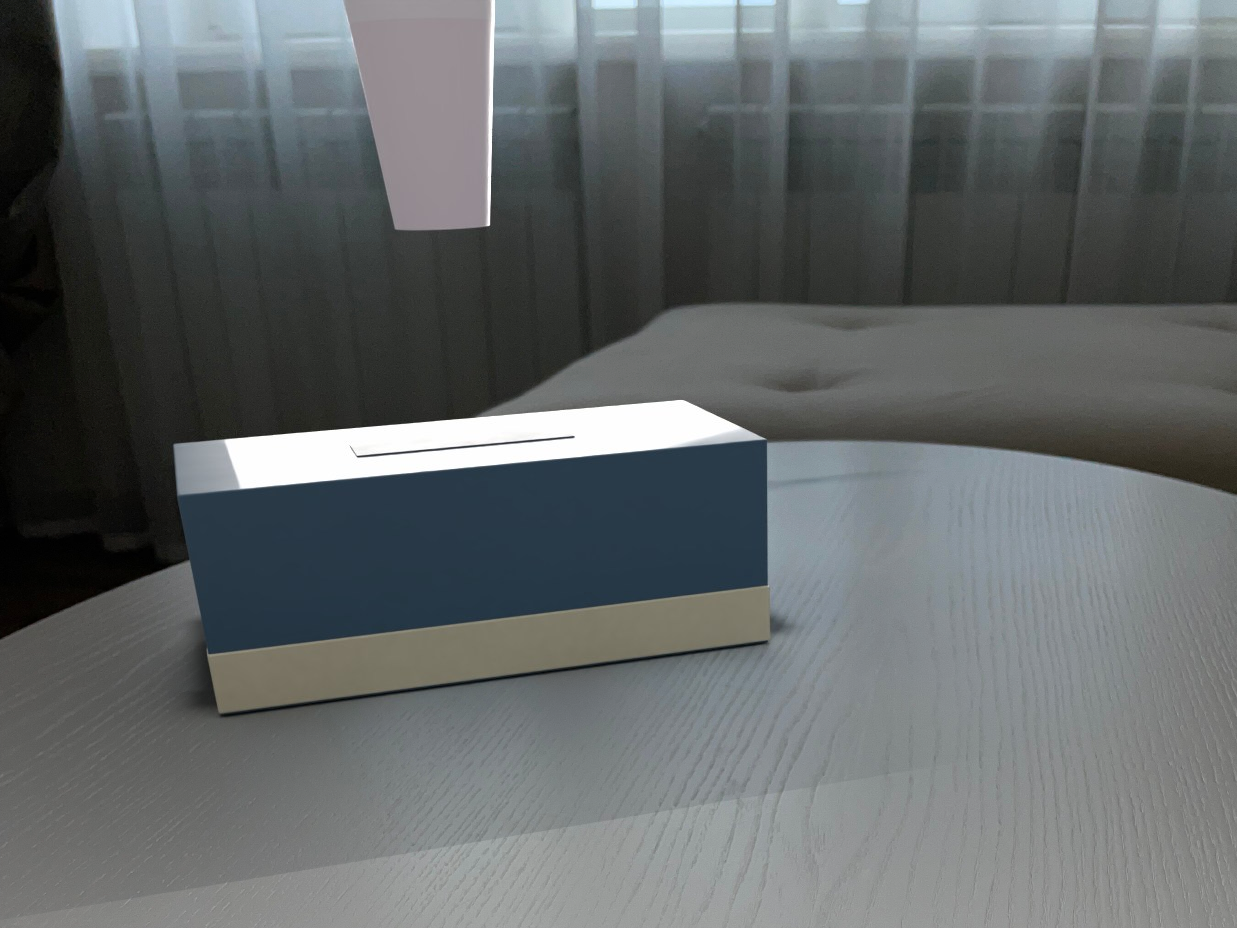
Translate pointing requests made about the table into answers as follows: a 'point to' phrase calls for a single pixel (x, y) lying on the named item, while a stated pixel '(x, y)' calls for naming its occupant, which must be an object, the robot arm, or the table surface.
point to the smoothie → (429, 105)
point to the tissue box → (472, 549)
